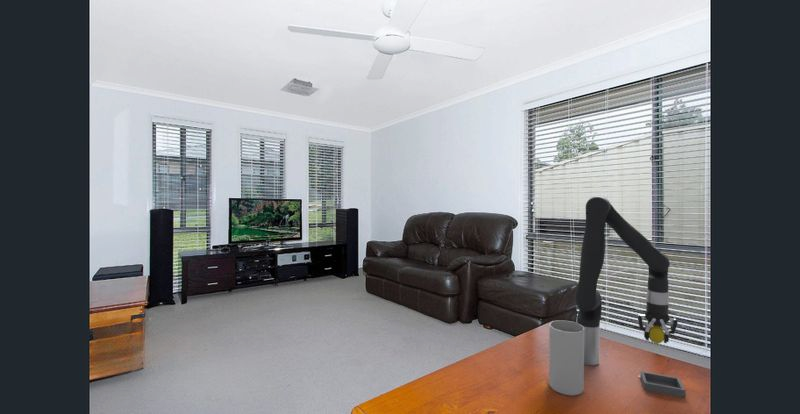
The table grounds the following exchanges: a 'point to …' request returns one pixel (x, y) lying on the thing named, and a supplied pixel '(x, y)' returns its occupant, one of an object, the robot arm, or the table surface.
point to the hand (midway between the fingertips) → (656, 341)
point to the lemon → (656, 334)
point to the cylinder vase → (566, 357)
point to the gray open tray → (662, 384)
